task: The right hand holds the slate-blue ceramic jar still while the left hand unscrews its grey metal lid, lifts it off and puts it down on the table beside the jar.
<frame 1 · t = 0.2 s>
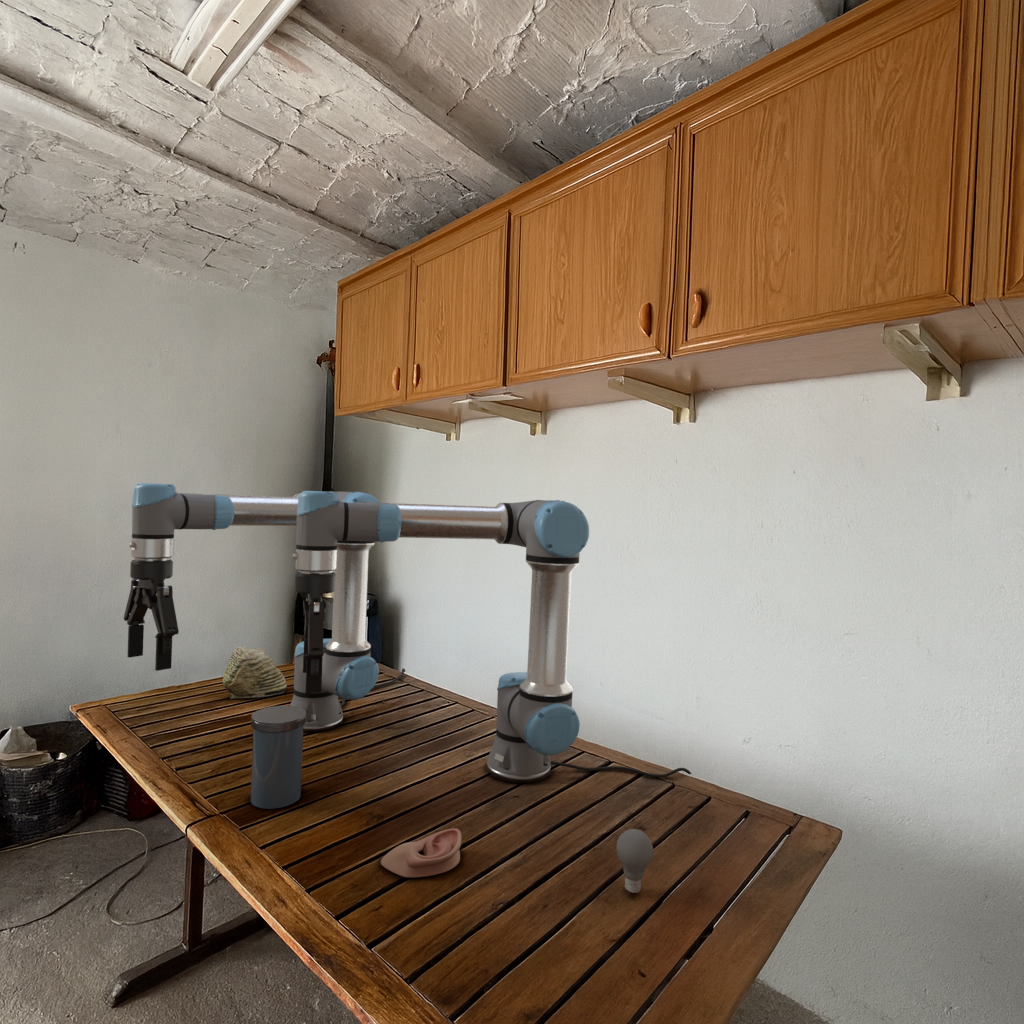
left hand: (148, 662, 129), 28 cm above the table, tool pointing down, fingers open, 13 cm apart
right hand: (311, 681, 122), 28 cm above the table, tool pointing down, fingers open, 13 cm apart
jar: (276, 797, 133), on the table
lid: (279, 715, 132), point 17 cm above the table, screwed on, not yet turned
light bulb: (632, 891, 106), on the table
fossil: (254, 694, 198), on the table
anatomical model: (421, 860, 112), on the table
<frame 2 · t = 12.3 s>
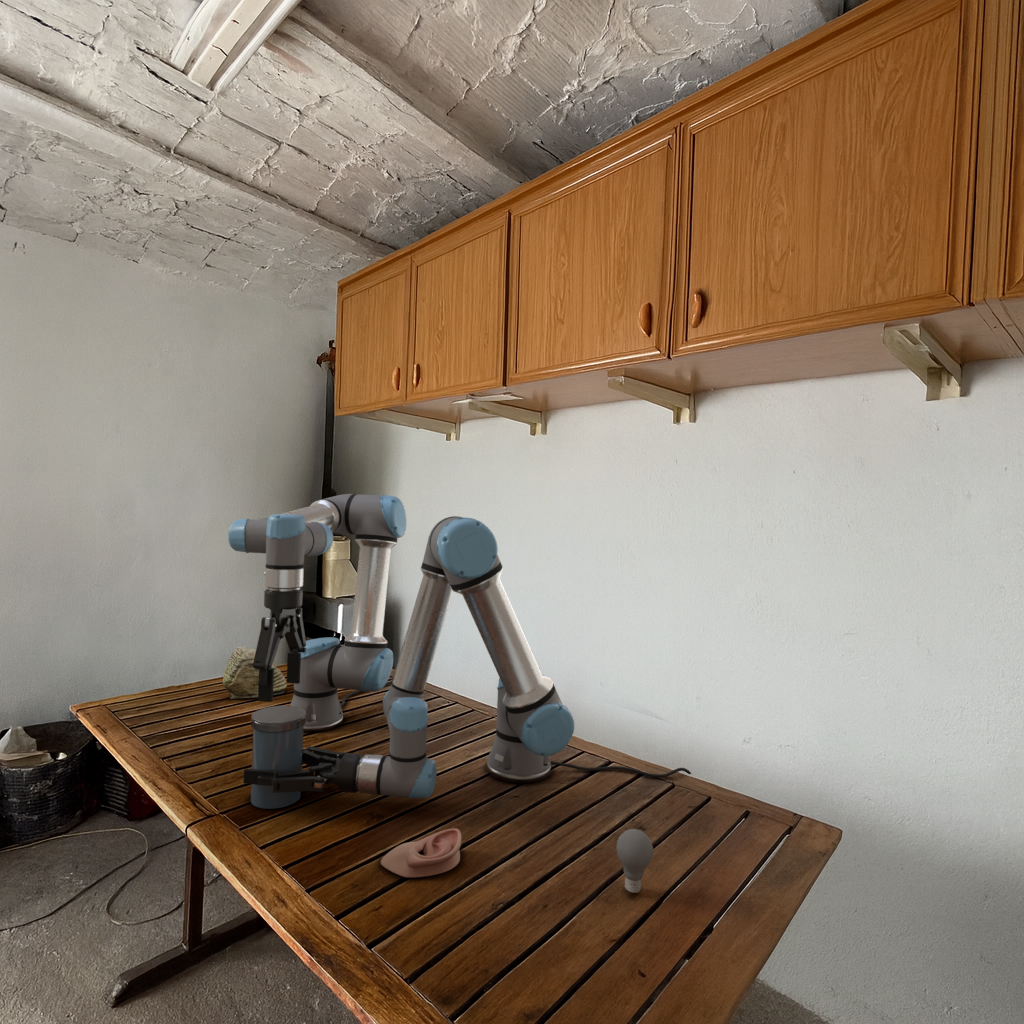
left hand: (280, 691, 132), 22 cm above the table, tool pointing down, fingers open, 12 cm apart
right hand: (257, 765, 133), 7 cm above the table, tool horizontal, fingers closed on jar, 10 cm apart
jar: (276, 797, 133), on the table, touching right hand
everything else where it was.
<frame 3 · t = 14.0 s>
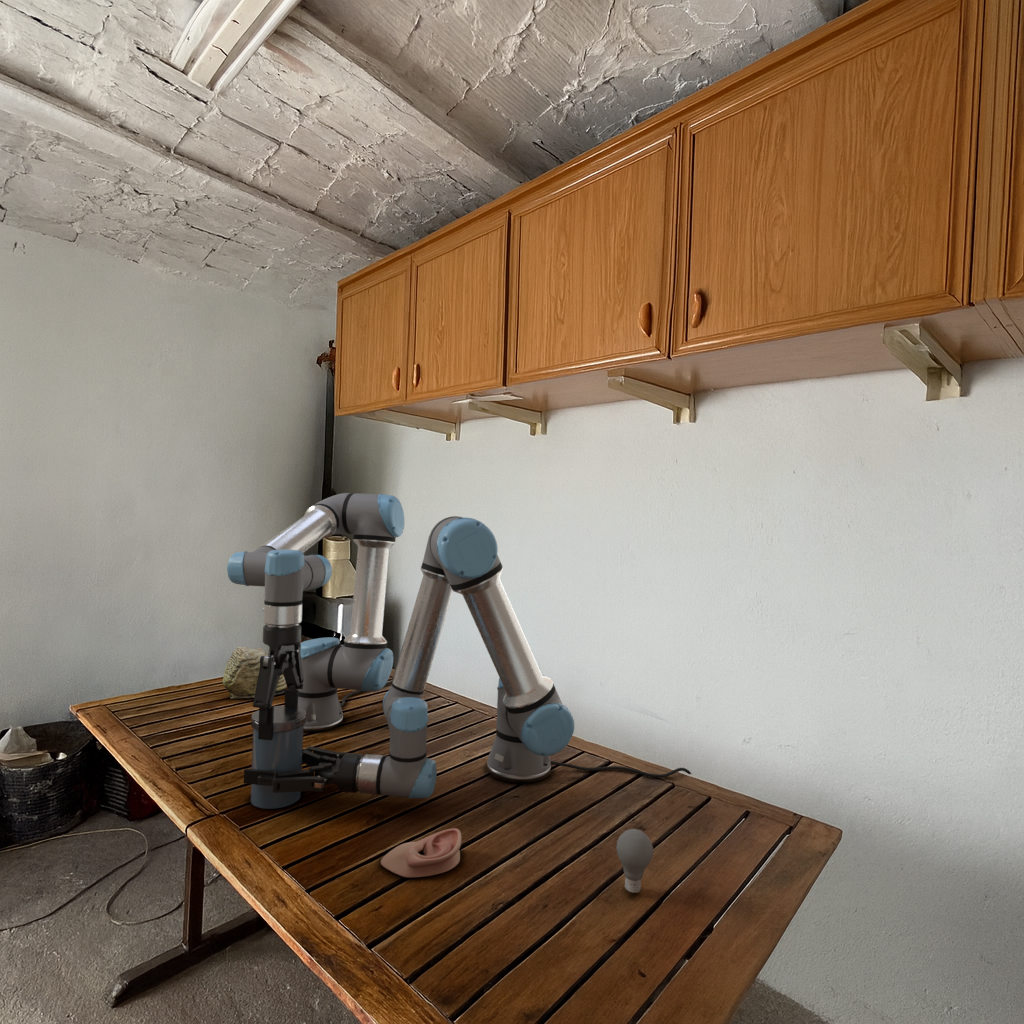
left hand: (278, 729, 132), 14 cm above the table, tool pointing down, fingers closed on lid, 11 cm apart
right hand: (257, 765, 133), 6 cm above the table, tool horizontal, fingers closed on jar, 10 cm apart
jar: (276, 797, 133), on the table, touching right hand
lid: (279, 715, 132), point 17 cm above the table, screwed on, not yet turned, touching left hand
everything else where it was.
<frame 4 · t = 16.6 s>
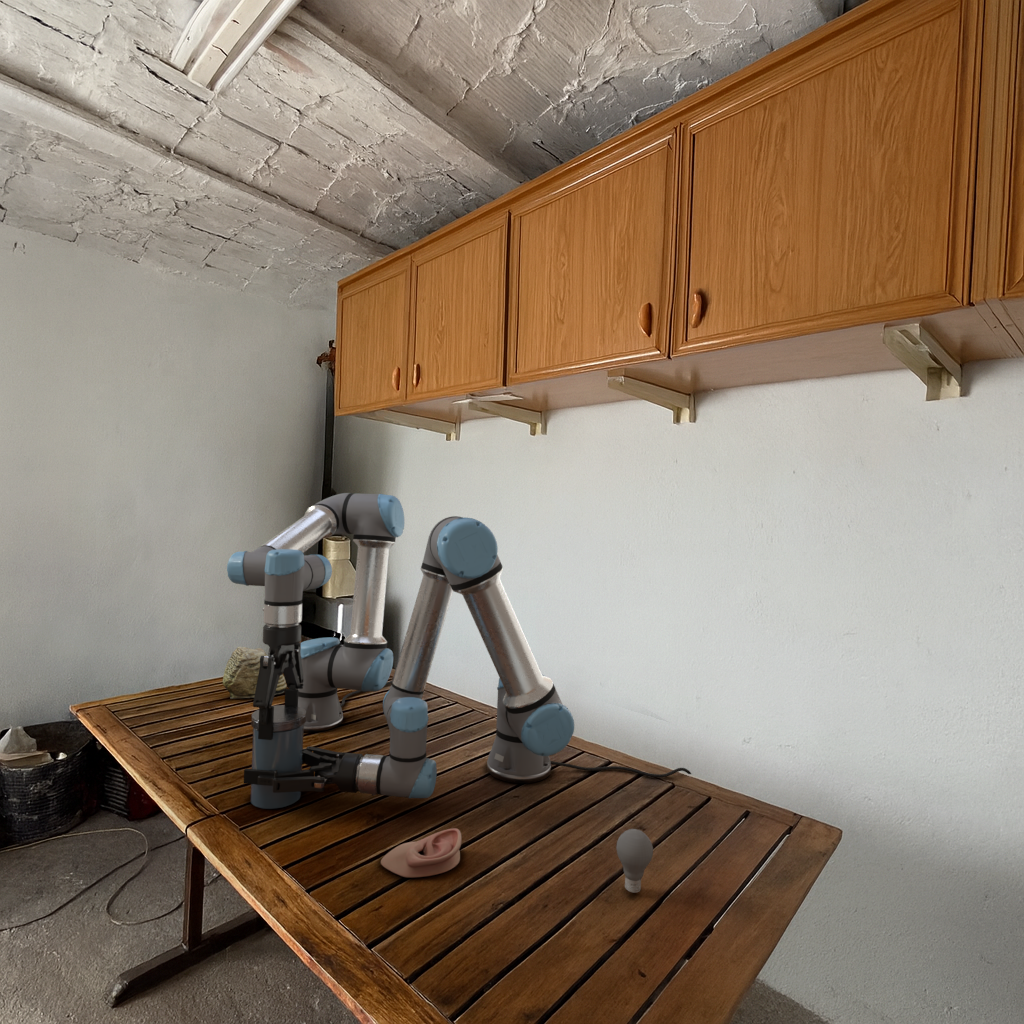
left hand: (278, 728, 132), 14 cm above the table, tool pointing down, fingers closed on lid, 11 cm apart
right hand: (257, 765, 133), 6 cm above the table, tool horizontal, fingers closed on jar, 10 cm apart
jar: (276, 797, 133), on the table, touching right hand
lid: (279, 715, 132), point 17 cm above the table, turned 55° so far, risen 0.1 cm, still on its thread, touching left hand
everything else where it was.
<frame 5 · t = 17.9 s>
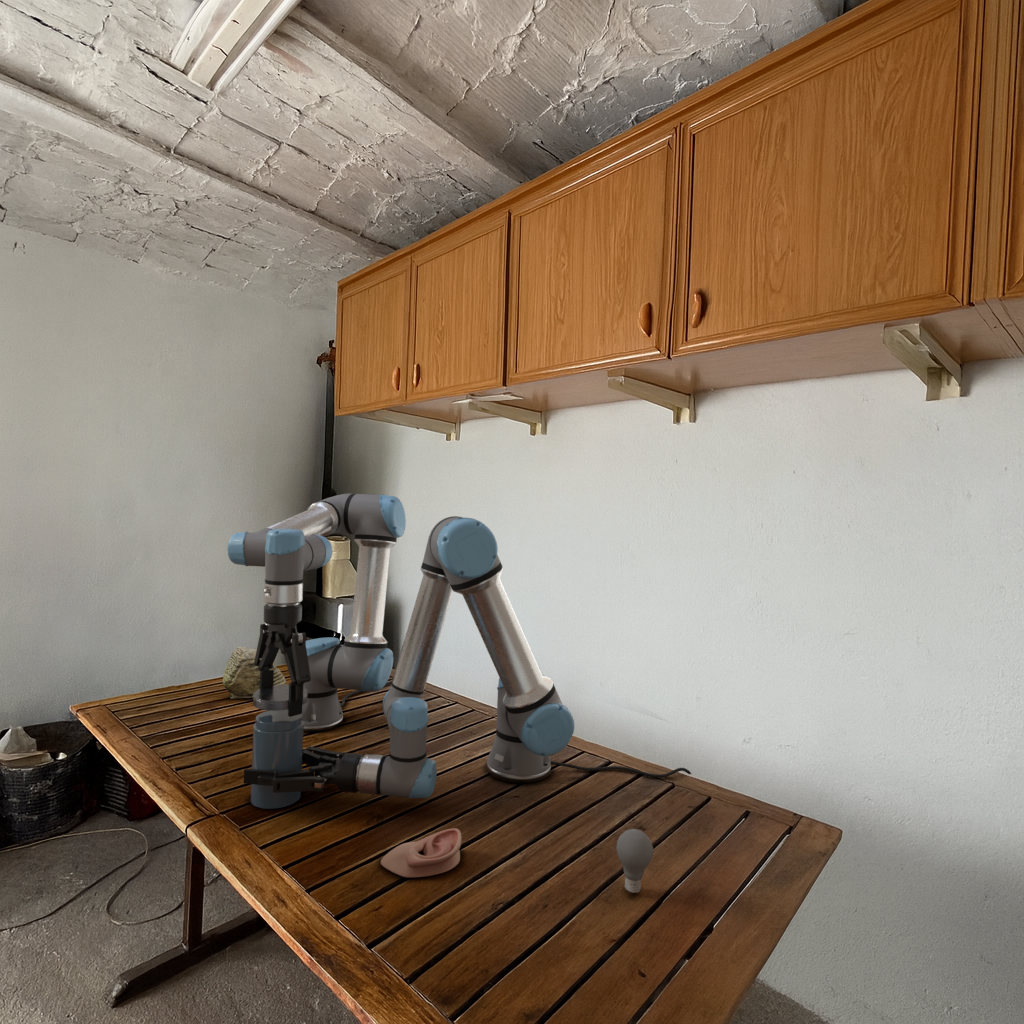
left hand: (280, 707, 133), 19 cm above the table, tool pointing down, fingers closed on lid, 11 cm apart
right hand: (257, 765, 133), 7 cm above the table, tool horizontal, fingers closed on jar, 10 cm apart
jar: (276, 797, 133), on the table, touching right hand
lid: (280, 694, 133), point 22 cm above the table, off its thread, touching left hand
everything else where it was.
when the left hand's fingers open (0 cm above the table, at t = 22.8 s): lid drops 2 cm, point 2 cm above the table.
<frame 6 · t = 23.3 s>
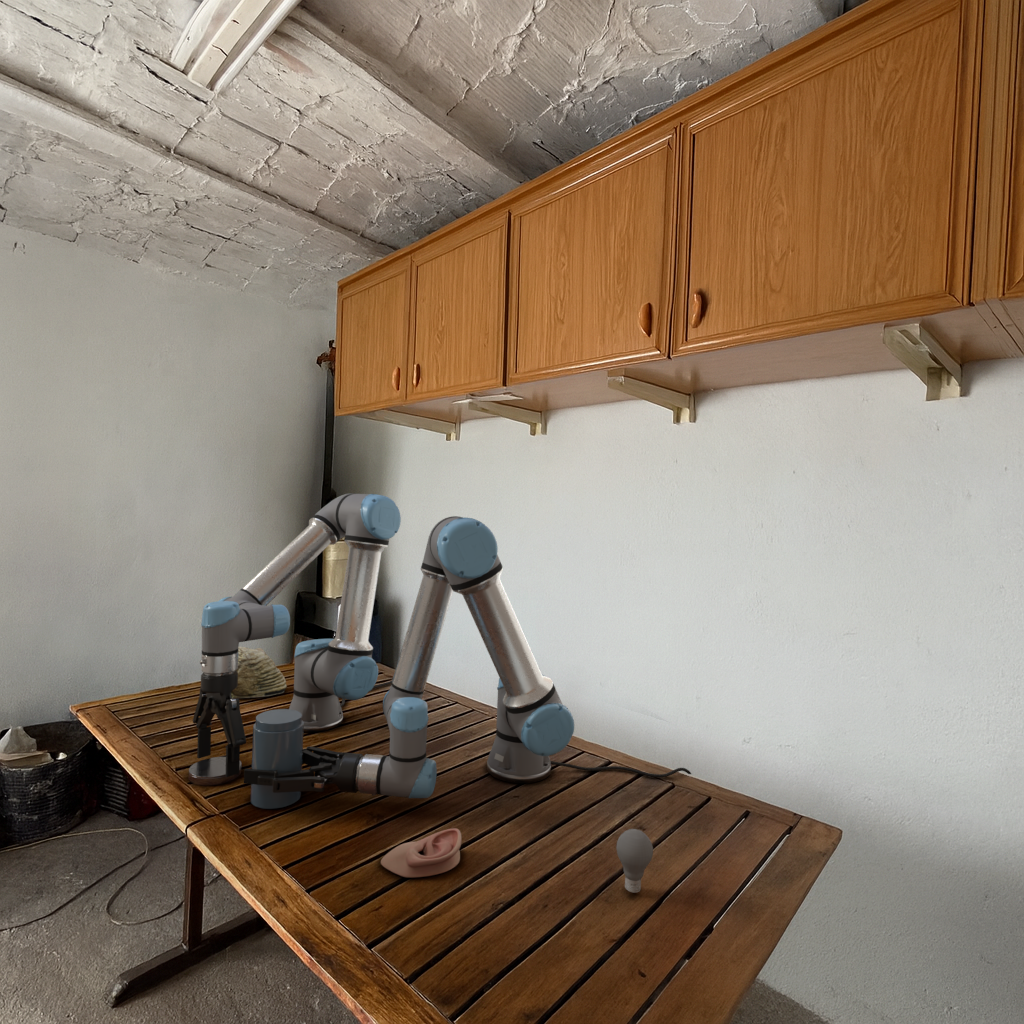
left hand: (217, 765, 142), 2 cm above the table, tool pointing down, fingers open, 13 cm apart
right hand: (257, 765, 133), 7 cm above the table, tool horizontal, fingers closed on jar, 10 cm apart
jar: (276, 797, 133), on the table, touching right hand
lid: (215, 767, 142), point 2 cm above the table, off its thread
everything else where it was.
when the right hand's fingers open (7 cm above the table, at t = 23.9 s): jar stays where it is, on the table.
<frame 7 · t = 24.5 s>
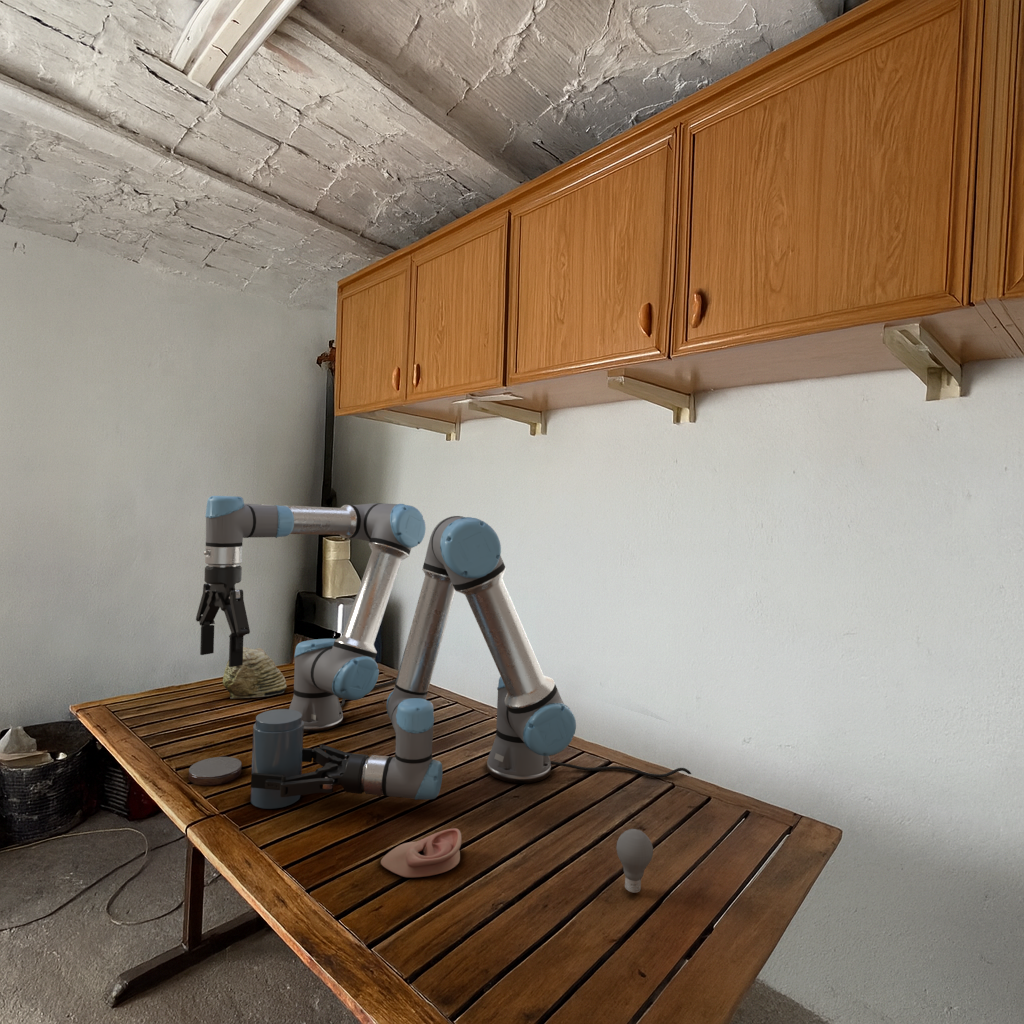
left hand: (220, 659, 142), 26 cm above the table, tool pointing down, fingers open, 13 cm apart
right hand: (268, 765, 133), 6 cm above the table, tool horizontal, fingers open, 13 cm apart
jar: (276, 797, 133), on the table
everything else where it was.
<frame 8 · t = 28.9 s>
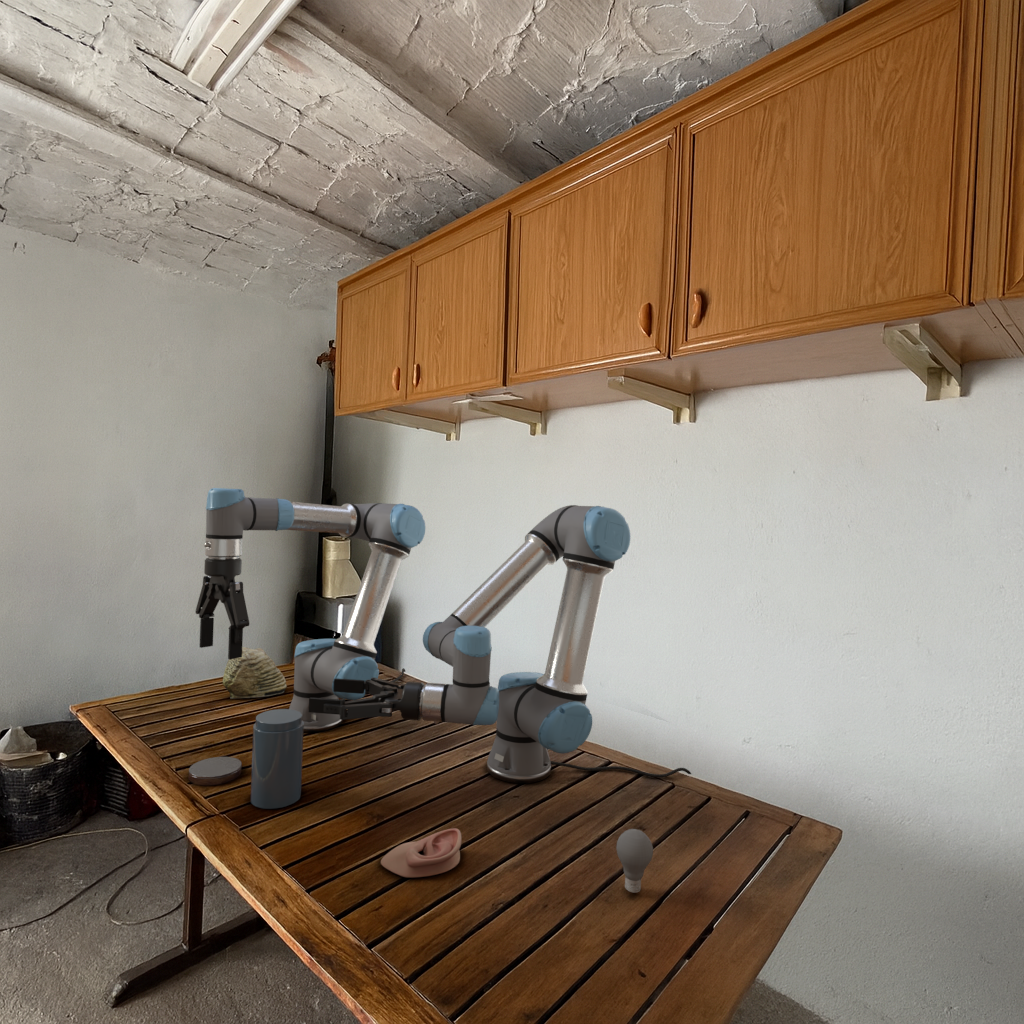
left hand: (220, 652, 141), 28 cm above the table, tool pointing down, fingers open, 13 cm apart
right hand: (322, 694, 131), 22 cm above the table, tool horizontal, fingers open, 13 cm apart
nothing on the table moved.
at the end: lid came off its thread; lid point 1.6 cm above the table; the left hand is holding nothing; the right hand is holding nothing; jar tilted 0°; jar moved 0.0 cm from its start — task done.
